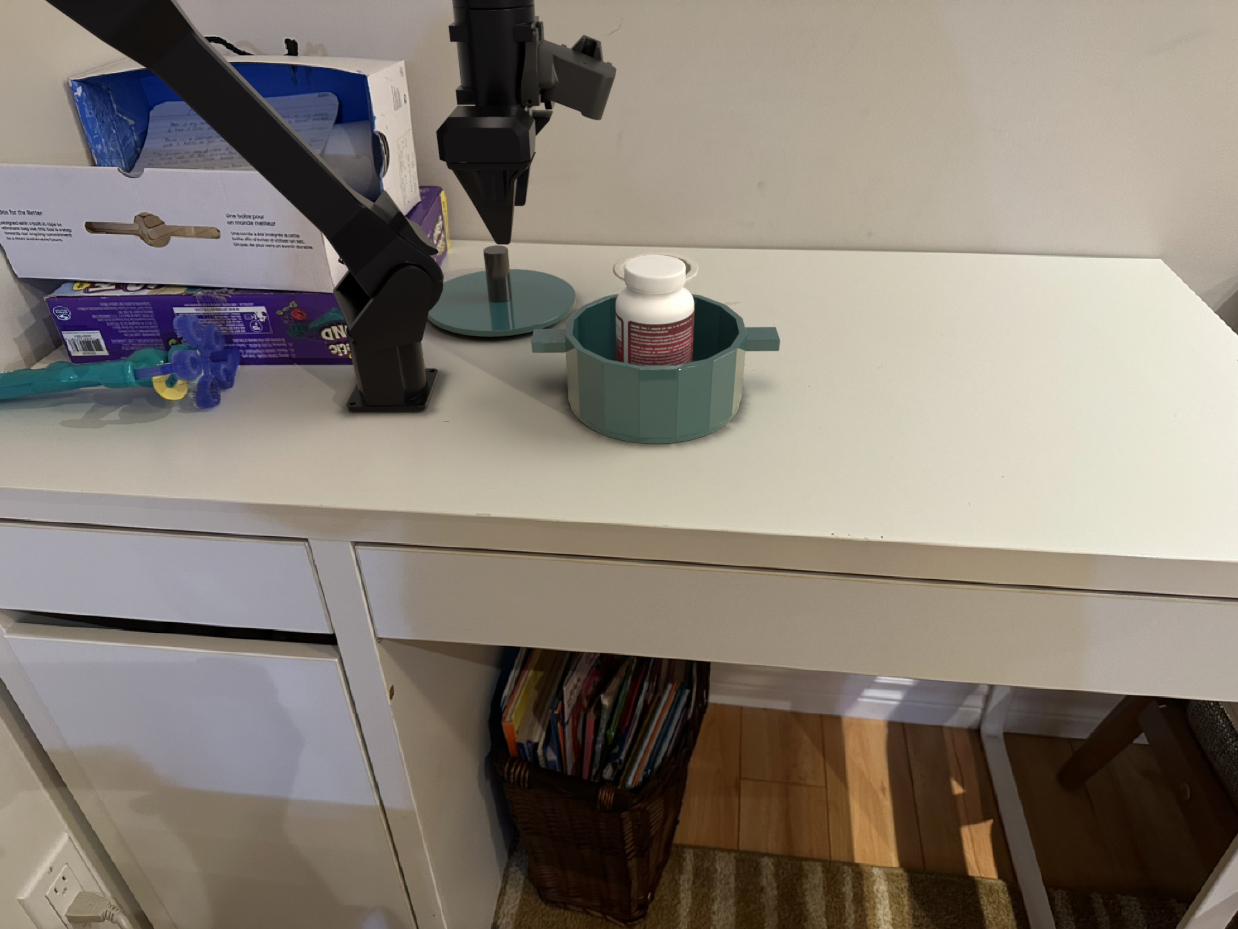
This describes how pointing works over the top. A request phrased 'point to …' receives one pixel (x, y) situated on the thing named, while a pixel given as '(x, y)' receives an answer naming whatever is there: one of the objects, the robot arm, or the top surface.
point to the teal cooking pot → (655, 374)
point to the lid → (502, 299)
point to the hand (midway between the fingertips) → (511, 223)
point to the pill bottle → (654, 313)
